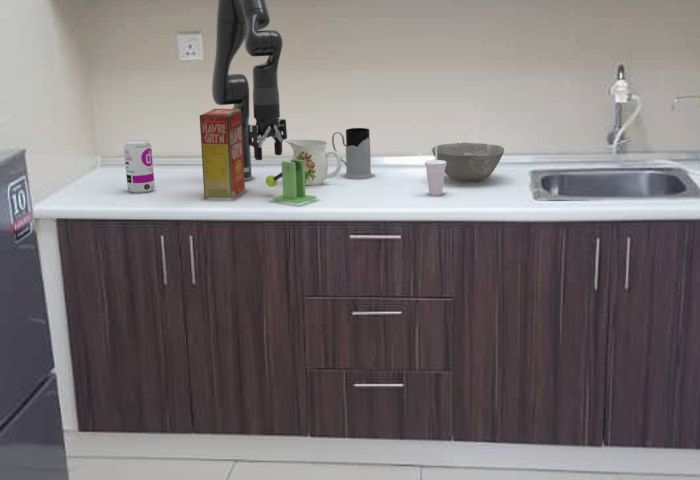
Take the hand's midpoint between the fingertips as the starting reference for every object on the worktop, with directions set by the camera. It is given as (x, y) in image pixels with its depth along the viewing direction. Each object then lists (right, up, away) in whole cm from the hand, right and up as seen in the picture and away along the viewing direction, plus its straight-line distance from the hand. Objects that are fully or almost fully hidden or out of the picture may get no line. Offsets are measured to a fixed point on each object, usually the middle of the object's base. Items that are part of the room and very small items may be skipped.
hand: (268, 157), depth 288 cm
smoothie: (+49, -11, +3) cm, 50 cm away
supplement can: (-41, -8, +16) cm, 44 cm away
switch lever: (+5, -7, -2) cm, 8 cm away
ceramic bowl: (+60, -5, +21) cm, 64 cm away
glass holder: (+24, -2, +32) cm, 40 cm away
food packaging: (-14, -11, +7) cm, 19 cm away
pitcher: (+12, -7, +18) cm, 23 cm away
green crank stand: (+8, -13, -2) cm, 15 cm away
